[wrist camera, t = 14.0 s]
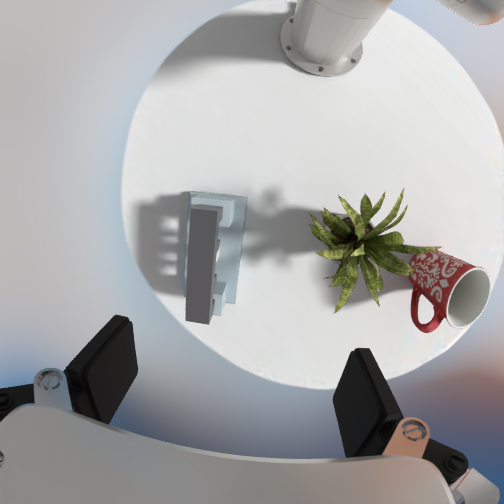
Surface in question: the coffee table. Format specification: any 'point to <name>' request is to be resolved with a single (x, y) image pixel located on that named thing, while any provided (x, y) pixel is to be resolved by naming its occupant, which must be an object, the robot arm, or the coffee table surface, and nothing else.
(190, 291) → the dark grey bar
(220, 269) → the display stand
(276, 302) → the coffee table surface
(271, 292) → the coffee table surface
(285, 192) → the coffee table surface
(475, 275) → the mug
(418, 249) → the house plant
